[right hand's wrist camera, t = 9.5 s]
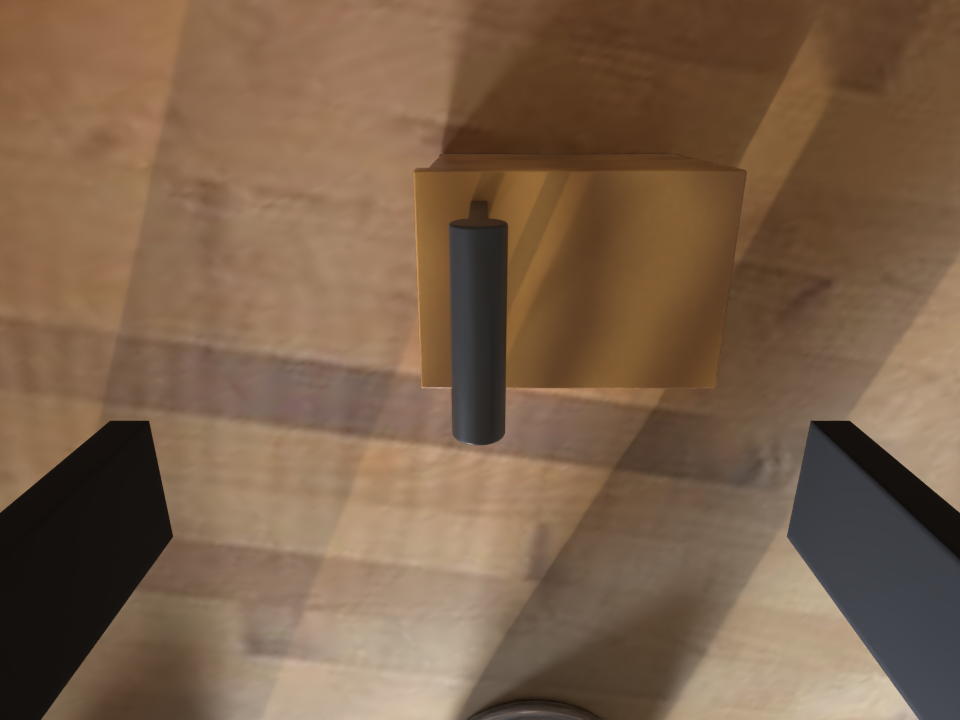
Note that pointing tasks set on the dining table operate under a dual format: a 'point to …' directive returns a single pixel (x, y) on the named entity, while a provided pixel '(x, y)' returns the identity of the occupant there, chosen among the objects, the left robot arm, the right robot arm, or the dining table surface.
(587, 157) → the chest
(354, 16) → the dining table surface
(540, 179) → the lid
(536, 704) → the left robot arm
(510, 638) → the dining table surface
